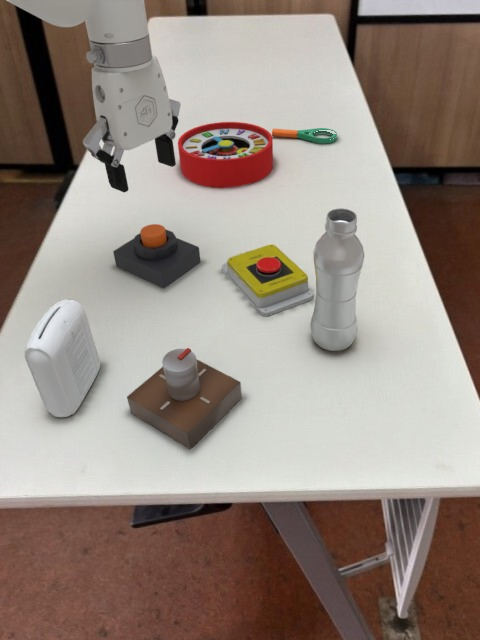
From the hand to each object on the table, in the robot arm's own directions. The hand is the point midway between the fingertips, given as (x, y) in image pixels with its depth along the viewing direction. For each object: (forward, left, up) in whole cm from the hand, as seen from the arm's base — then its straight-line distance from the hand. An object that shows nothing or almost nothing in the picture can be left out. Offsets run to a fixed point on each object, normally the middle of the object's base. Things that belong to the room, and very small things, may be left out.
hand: (144, 176), depth 85 cm
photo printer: (+10, -27, -17) cm, 33 cm away
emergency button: (+17, +7, -17) cm, 25 cm away
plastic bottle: (+33, +1, -17) cm, 37 cm away
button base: (-1, +1, -17) cm, 17 cm away
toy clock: (-15, +37, -17) cm, 43 cm away
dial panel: (+24, -20, -17) cm, 36 cm away
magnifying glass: (-9, +58, -16) cm, 61 cm away
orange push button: (-1, +1, -12) cm, 12 cm away
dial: (+24, -20, -14) cm, 34 cm away
